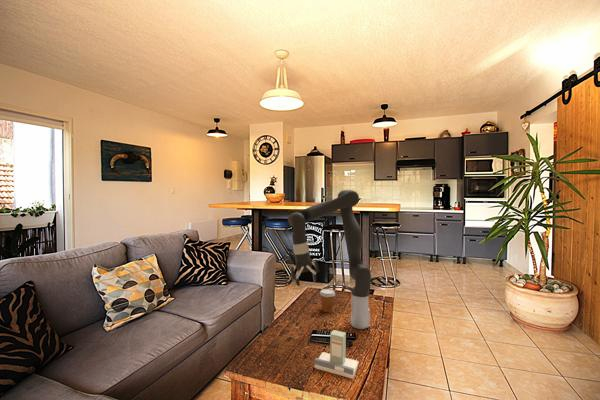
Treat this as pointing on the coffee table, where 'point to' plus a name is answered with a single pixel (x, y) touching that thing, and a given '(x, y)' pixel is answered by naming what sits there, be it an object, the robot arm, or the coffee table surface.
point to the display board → (336, 366)
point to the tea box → (337, 347)
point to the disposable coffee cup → (327, 299)
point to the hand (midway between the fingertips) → (306, 283)
